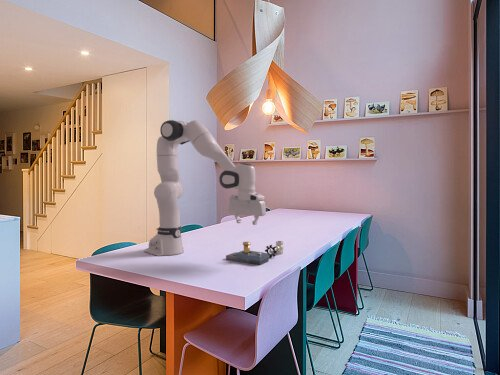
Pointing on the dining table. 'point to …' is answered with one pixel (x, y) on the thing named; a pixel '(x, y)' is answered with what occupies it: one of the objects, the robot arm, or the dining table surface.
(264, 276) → the dining table surface
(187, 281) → the dining table surface
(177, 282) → the dining table surface
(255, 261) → the gray block with recess
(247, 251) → the brass pin
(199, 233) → the dining table surface
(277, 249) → the valve
